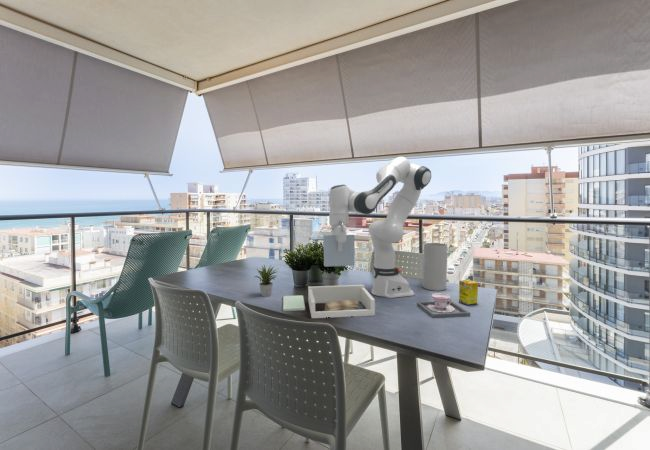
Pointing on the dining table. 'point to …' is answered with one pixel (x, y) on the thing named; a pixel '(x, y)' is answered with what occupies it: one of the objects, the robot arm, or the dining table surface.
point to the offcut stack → (341, 305)
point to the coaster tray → (441, 315)
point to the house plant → (266, 281)
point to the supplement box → (468, 292)
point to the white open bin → (340, 294)
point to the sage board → (293, 303)
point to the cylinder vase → (435, 266)
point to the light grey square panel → (339, 257)
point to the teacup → (441, 303)
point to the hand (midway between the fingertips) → (339, 250)
